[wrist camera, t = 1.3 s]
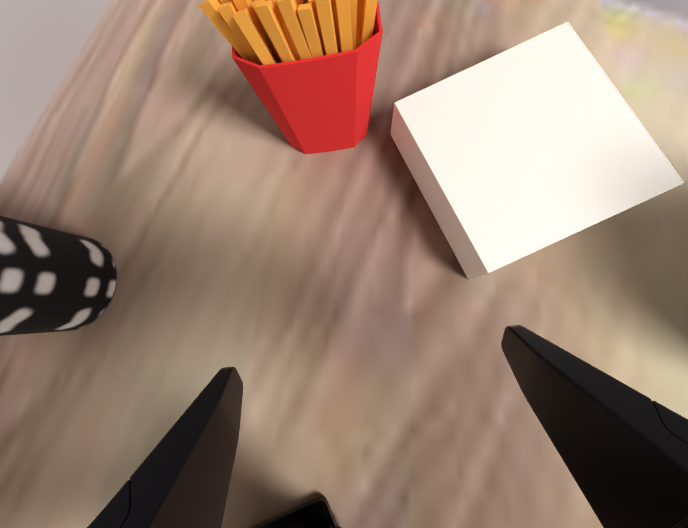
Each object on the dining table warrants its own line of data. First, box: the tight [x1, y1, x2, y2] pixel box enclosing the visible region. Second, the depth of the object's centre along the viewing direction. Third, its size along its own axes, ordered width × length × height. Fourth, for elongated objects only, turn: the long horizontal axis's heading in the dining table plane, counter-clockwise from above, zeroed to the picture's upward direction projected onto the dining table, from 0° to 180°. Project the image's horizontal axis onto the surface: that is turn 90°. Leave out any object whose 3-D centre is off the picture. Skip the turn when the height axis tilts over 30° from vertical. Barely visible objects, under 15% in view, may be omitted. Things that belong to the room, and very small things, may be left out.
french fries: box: [198, 0, 383, 154], centre depth 20 cm, size 9×4×13 cm, turn 96°
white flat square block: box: [390, 22, 684, 279], centre depth 22 cm, size 14×14×4 cm
